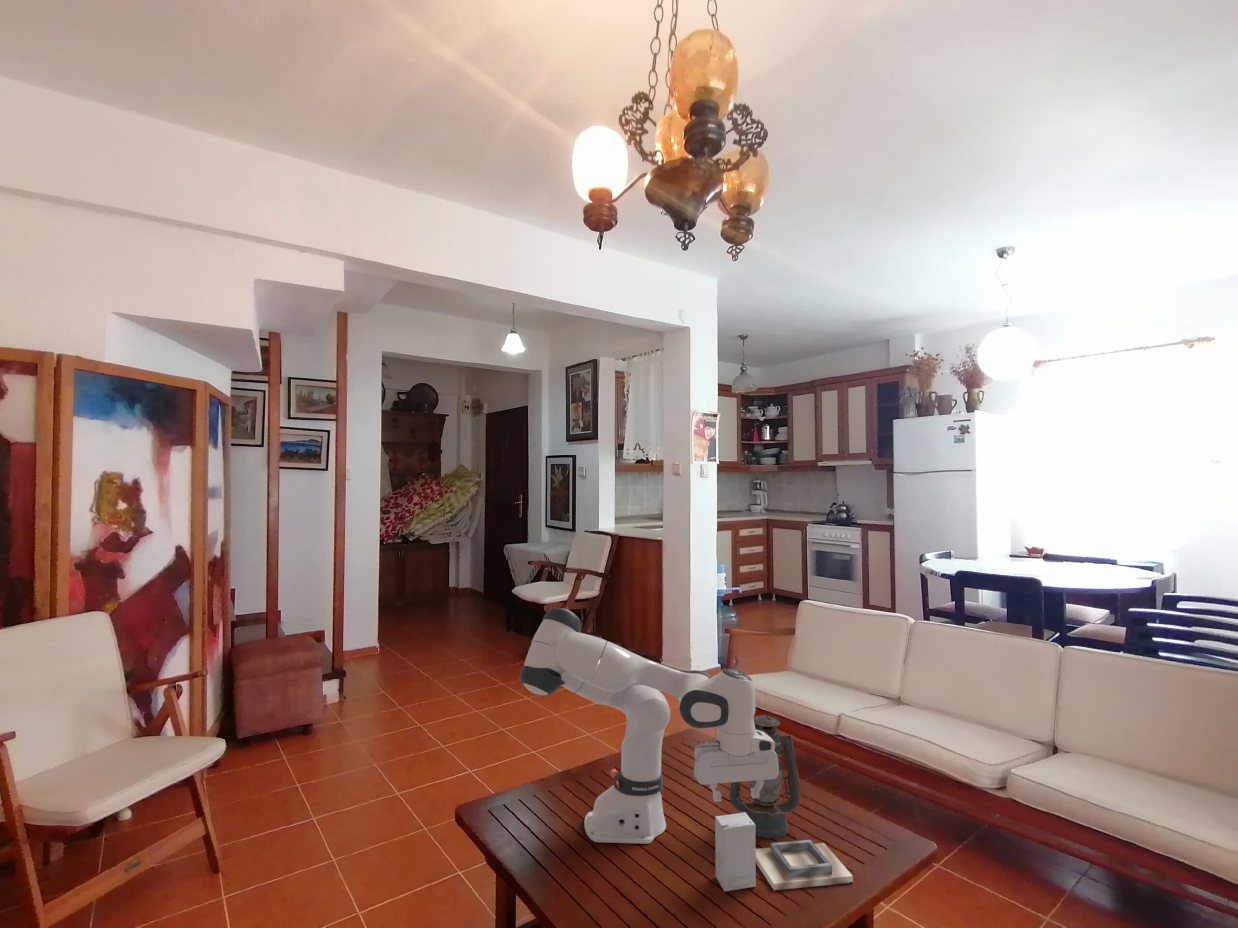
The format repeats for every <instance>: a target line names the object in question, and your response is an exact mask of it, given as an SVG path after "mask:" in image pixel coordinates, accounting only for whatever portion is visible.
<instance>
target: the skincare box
mask: <svg viewBox="0 0 1238 928" xmlns="http://www.w3.org/2000/svg"><path fill="white" fill-rule="evenodd" d="M714 817H715V819H714V826H715V827H714V829H715V831H714V832H715V833H714V835H715V840H714V841H715V843H714V844H715V845H714V847H715V848H714V849H715V877H716V880H717V881H718V883H719V885H720V887H721V888H722V890H723V891H724V892H731V891H736V890H737V891H738V890H742V889H749V888H754V887H757V886H756V885H757V884H756V883H757V882H756V881H757V877H756V876H757V875H756V873H757V872H756V871H757V870H756V866H757V864H756V849H757V848H756V843H757V842H756V836H755V828H756V825H755V824H754V822H753V821H752V820H751V819H750V818H749V816H748V815H747V814H746V812H738V813H737V812H736V813H731V814H724V815H715V816H714Z"/></svg>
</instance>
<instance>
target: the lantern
mask: <svg viewBox="0 0 1238 928" xmlns="http://www.w3.org/2000/svg"><path fill="white" fill-rule="evenodd" d="M754 724H755V729H756V730H759V731H763V732H765V733H766V734H767V735H768V736H770V737H771V738H772V740H773V741H774V742H775V749H774V751H775V752H776V754H777V757H778V764H779V774H778V776H777V778H776V779H768V780H764V785H763V787H762V788H761V790H760V791H759V798H755V799H753V797H751V788H754V787H755V785H756V782H757V781H756V780H755V781H748V786H749V795H746V798H748V799H751V800H750V801H747V802H746V801H745V800H744V799H743V792H742V787H741V786H742V782H730V783H731V784H730V788H729V789H730V791H729V800H730V803H731V804H732V805H733V807H734V808H735V809H737V810H739V811H740V812H741V813H743V812H746V814H747V815H748V816H749V818H750V819H751V820H752V821H753V822H754V824H755V825H756V828H755V837H759V838H763V839H778V838H779V839H781V838H782V837H784V836H786V835H787V834H788V831H789V824H788V820H787V819H786V814H790V813H791V814H792V813H793V812H794V811H795V810H797V808H798V806H799V804H800V803H801V788H800V777H799V772H798V765H797V759H796V754H795V749H794V745H793V744H794V743H793V740H794V738H793V736H792V734H791V733H789V734H788V735H787V734H785V735H784V734H783V735H782V734H780V733H781V732H780V730H778V728H777V727H778V726H780V724H781V721H780V720H779V719H778V718H777V717H774V716H770V715H766V714H765V715H764V714H761V715H754ZM783 754H784V758H785V759H784V760H785V765H786V772H787V773H786V774H787V775H786V774H785V775H784V771H783V766H782V765H783V764H782V761H781V759H780V758H782V757H783ZM782 785H783V786H784V791H785V792H784V793H783V798H782V801H779V799H780V798H781V796H780V793H781V791H782ZM785 796H786V797H788V796H790V797H789V798H788V799H787V800H786V801H784V800H785Z"/></svg>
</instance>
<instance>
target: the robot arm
mask: <svg viewBox="0 0 1238 928" xmlns="http://www.w3.org/2000/svg"><path fill="white" fill-rule="evenodd" d="M523 663H524V665H523V666H521V670H520V674H519V681H520V684H522V686H524V687H525V689H527V690H528V691H529V692H530V693H532V694H535V695H539V696H550V695H552V694H554V693H556V692H557V691H558V689H559V688H560V687H563V688H565V690H568V691H570V692H571V693H574V694H576V695H578V696H580V697H582V698H584V699H586V700H588V701H591V702H593V703H595V704H597V705H599V706H600V705H604V706H608V707H612V708H614V709H615V710H619V711H620V712H622V713H623V714H624V715H625V717H626V727H625V733H624V738H623V740H622V742H621V754H620V755H621V759H620V760H621V764H620V766H621V767H620V770H619V771H618V770H617V769H616V768H612V769H611V771H609V773H610V777H611V779H613V785H612V786H610V787H608V789H606V790H604V792H602V793H601V794H600V795H599V796H597V797H596V799H595V801H594V805H593V809H592V811H588V812H587V814H585V818H584V823H583V825H584V826H583V827H584V831H585V834H586V835H587V836H588V838H589V839H590V840H591V841H593V842H594V843H611V844H612V843H614V844H616V843H617V844H644V845H645V844H647V845H649V844H651V843H652V842H653V841H654V839H655V838H656V837H658V836H659V835H661V834H663V833H664V832H665V830H666V828H667V822H666V818H665V815H664V814H665V813H664V808H663V801H662V800H663V799H662V795H663V790H664V778H663V776H664V775H663V773H662V746H663V739H664V736H665V735H664V734H665V730H666V727H667V726H668V725H669V723H670V718H671V710H670V707H669V706H670V705H669V703H668V701H667V698H666V696H665V695H664V694H663V693H666V694H669V695H672V696H674V697H675V698H676V699H677V700H678V704H679V705H678V707H679V713H680V717H681V719H682V720H683V721H684V722H685V723H686V724H687V725H688V726H690V727H691V728H695V729H709V728H715V727H717V740H711V741H700V743H698V744H697V745H696V746H695V747H694V750H693V754H694V755H693V757H694V760H695V761H694V770H693V776H694V778H695V780H696V781H697V783H699V784H700V785H708V786H709V787H710V789H711V791H712V799H713V801H714V802H715V803H717V802H721V801H722V793H721V791H720V790H717V787H718V784H725V783H727V784H728V783H732V782H741V783H742V782H749V781H755V780H756V781H757V782H756V785H755V787H754V788H751V795H750V796H751V797H753V799H755V798H759V791H760V790H761V788H762V787H763V785H764V780H768V779H776V778H777V776H778V774H779V764H778V758H779V757H777V754H776V752H775V751H774V749H775V742H774V741H773V740H772V738H771V737H770V736H768V735H767V734H766V733H765V732H763V731H759V730H756V729H755V724H754V717H755V713H756V693H755V692H756V691H755V686H754V682H753V679H752V678H751V677H750V676H749V674H747V673H746V672H743V671H741V670H739V669H735V668H724V669H722V670H720V672H718V673H717V674H716V675H714V676H712V675H711V674H709V673H708V672H706V671H703V670H684V669H683V670H682V669H678V668H675V667H671V666H669V665H666V664H663V663H660V662H658V661H656V660H652V659H649V658H646V657H643V656H642V655H638V654H636V653H635V652H632V651H630V650H628V649H626V648H624V647H622V646H620V645H617V644H615V643H614V642H611V641H608V640H606V639H603V638H601V637H598V636H595V635H591V634H587V633H584V632H582V621H581V619H580V618H579V616H577V614H575V613H574V612H572V611H571V610H569V609H566V608H562V607H561V608H560V607H554V608H553V607H552V608H549V609H548V611H547V612H546V613H545V614H544V616H543V617H542V621H541V623H540V625H539V626H538V628H537V630H536V632H535V633H534V636H533V637H532V640H531V644H530V646H529V648H528V652H527V655H526V657H525V660H524V662H523ZM662 692H663V693H662ZM753 799H752V800H753Z"/></svg>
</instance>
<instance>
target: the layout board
mask: <svg viewBox="0 0 1238 928" xmlns="http://www.w3.org/2000/svg"><path fill="white" fill-rule="evenodd" d="M756 866H757V867H758V869H759V870H760V872H761V873H762V875H763V876H764V878H765V879H766V880H767V882H768V884H769V886H771V888H772V890H773V891H781V890H790V889H801V888H809V887H811V888H812V887H819V886H820V887H822V886H830V885H831V886H832V885H840V884H841V885H842V884H850V882H852V883H854V876H853V874H852V873H851V872H850V871H849V870H848V869H847V868H846V866H845V865H844V864H843V863H842V862H841V861H840V860H839V858H838V857H837V856H836V855H835V854H834V853H833V852H832V850H830V848H829V847H828V846H827V845H826V844H825V842H823V843H822V842H819V843H814V842H813V841H812V840H811V839H804V840H791V841H782V842H781V841H780V842H779V841H778V842H770V843H769V847H761V848H756Z"/></svg>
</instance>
